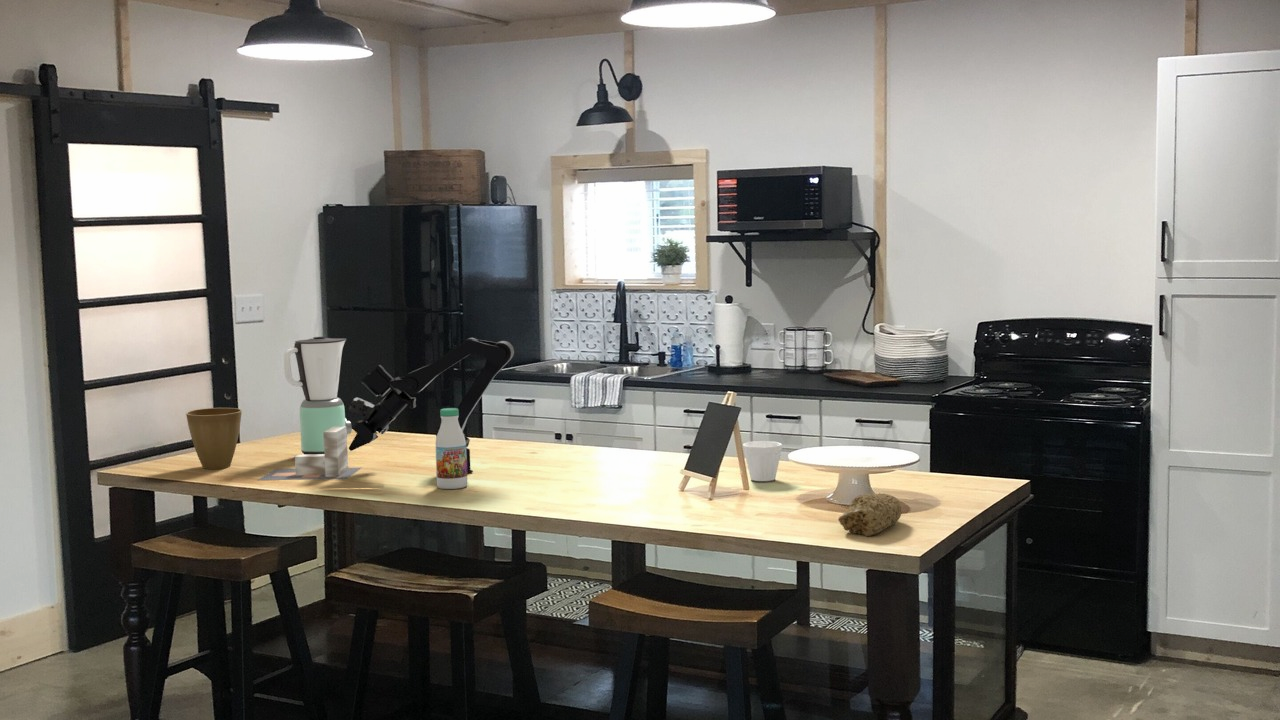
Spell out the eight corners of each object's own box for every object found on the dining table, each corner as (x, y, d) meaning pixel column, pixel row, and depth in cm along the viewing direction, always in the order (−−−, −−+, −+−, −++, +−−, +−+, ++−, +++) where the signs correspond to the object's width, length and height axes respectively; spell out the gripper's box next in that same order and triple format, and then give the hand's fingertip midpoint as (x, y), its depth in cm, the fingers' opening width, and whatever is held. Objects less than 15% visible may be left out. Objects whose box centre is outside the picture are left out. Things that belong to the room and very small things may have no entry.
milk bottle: (431, 487, 321) (428, 409, 319) (456, 482, 326) (453, 405, 324) (447, 491, 315) (444, 411, 313) (473, 486, 320) (470, 408, 318)
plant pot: (180, 472, 351) (177, 415, 349) (202, 462, 366) (199, 407, 364) (232, 471, 350) (229, 414, 348) (252, 461, 365) (249, 407, 363)
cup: (785, 477, 323) (785, 441, 322) (779, 484, 313) (778, 447, 313) (747, 475, 326) (746, 440, 325) (739, 483, 316) (739, 446, 315)
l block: (348, 469, 346) (346, 426, 345) (338, 476, 336) (336, 432, 335) (303, 470, 347) (301, 427, 345) (292, 477, 337) (289, 432, 335)
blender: (341, 449, 384) (336, 334, 380) (360, 454, 373) (355, 336, 370) (281, 456, 372) (275, 338, 369) (298, 462, 362) (292, 340, 358)
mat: (362, 468, 349) (362, 467, 349) (346, 480, 333) (346, 478, 333) (276, 470, 350) (276, 469, 350) (256, 481, 334) (256, 480, 334)
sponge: (883, 545, 256) (923, 507, 271) (873, 509, 255) (913, 473, 270) (828, 548, 264) (869, 511, 279) (817, 514, 263) (859, 478, 278)
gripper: (375, 383, 348) (337, 423, 349) (358, 391, 329) (318, 434, 331) (405, 411, 348) (366, 451, 350) (389, 421, 330) (349, 463, 331)
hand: (350, 449), depth 340 cm, fingers closed
